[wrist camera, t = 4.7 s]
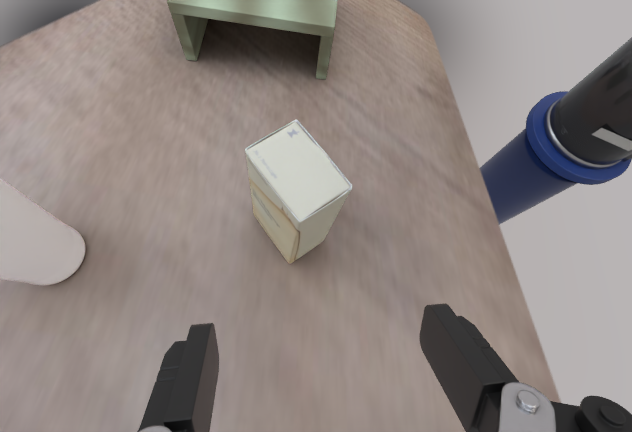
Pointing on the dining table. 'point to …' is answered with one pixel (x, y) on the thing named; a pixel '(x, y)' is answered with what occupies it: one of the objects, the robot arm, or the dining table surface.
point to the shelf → (257, 21)
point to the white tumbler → (35, 241)
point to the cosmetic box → (294, 189)
